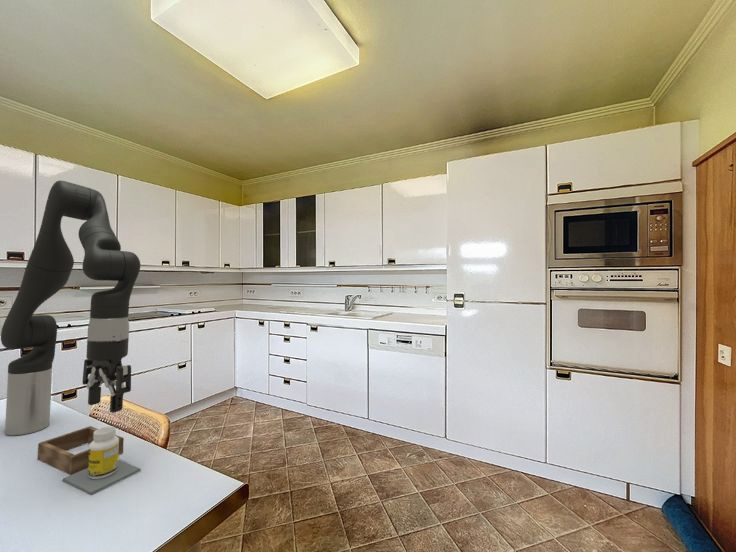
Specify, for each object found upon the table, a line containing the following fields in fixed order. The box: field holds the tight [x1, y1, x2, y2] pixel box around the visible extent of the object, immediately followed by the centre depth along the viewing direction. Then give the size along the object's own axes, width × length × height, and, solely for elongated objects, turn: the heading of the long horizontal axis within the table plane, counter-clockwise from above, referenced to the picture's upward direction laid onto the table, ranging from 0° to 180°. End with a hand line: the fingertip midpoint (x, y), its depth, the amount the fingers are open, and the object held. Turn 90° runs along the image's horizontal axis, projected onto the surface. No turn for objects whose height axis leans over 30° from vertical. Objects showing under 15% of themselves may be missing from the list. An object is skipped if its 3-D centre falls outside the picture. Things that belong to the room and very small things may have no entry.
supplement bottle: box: [88, 426, 119, 479], centre depth 76 cm, size 5×5×10 cm
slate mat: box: [62, 459, 141, 496], centre depth 76 cm, size 11×10×1 cm
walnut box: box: [36, 425, 125, 476], centre depth 84 cm, size 15×11×4 cm
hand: (104, 407), depth 76 cm, fingers open, 8 cm apart
